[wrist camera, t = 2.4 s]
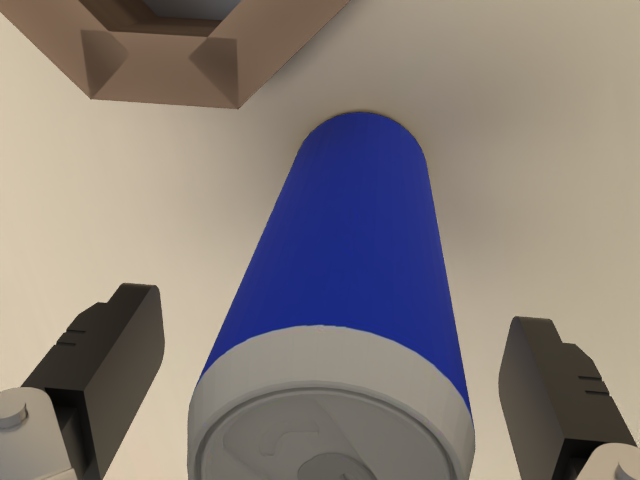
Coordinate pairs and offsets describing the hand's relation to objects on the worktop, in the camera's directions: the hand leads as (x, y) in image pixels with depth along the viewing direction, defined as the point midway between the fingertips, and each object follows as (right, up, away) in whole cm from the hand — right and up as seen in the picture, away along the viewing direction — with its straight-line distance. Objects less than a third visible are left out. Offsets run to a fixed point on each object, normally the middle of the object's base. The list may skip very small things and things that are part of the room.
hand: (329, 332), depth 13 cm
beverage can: (+1, +5, +10) cm, 11 cm away
